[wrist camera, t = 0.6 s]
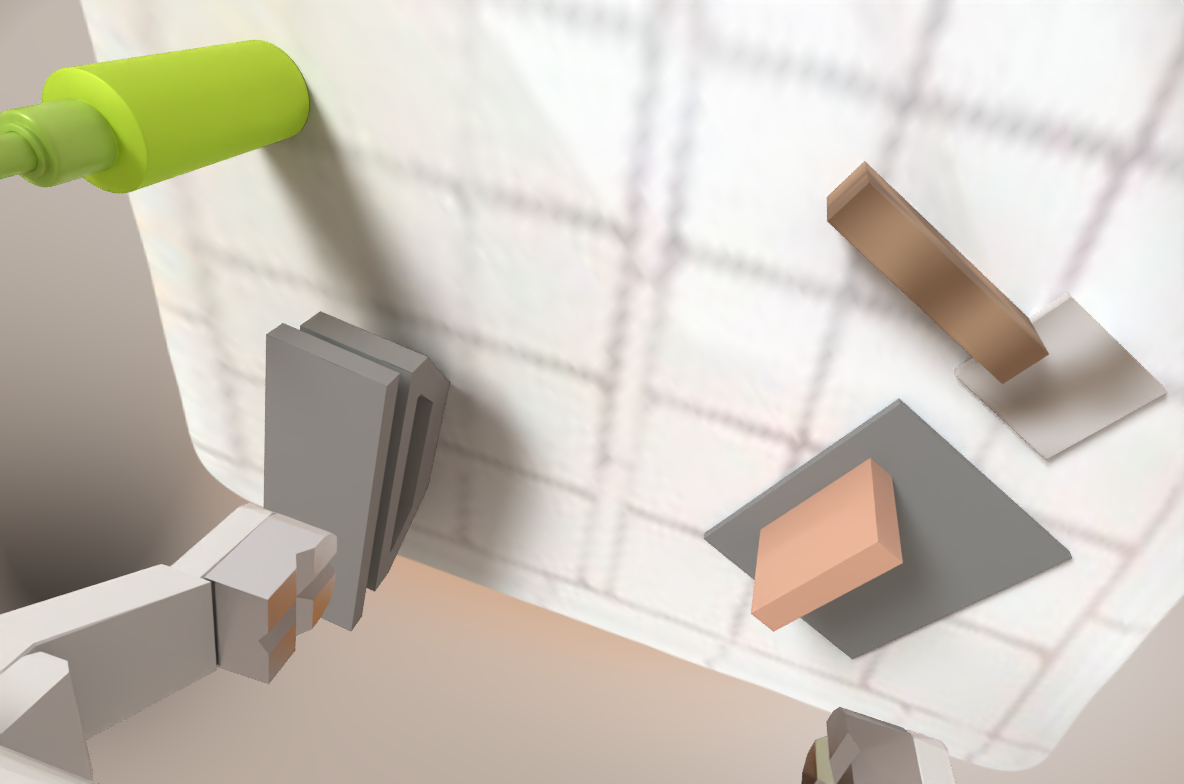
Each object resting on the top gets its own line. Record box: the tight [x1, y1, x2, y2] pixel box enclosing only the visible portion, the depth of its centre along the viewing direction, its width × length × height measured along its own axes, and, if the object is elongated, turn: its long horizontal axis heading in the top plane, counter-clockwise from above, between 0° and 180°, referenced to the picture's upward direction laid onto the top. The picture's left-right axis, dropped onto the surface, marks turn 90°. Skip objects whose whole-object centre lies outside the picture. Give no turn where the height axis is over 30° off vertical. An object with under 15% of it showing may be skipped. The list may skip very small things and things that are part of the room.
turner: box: [827, 161, 1167, 460], centre depth 38 cm, size 21×7×4 cm, turn 51°
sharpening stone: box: [264, 311, 450, 631], centre depth 52 cm, size 25×8×11 cm, turn 162°
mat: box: [704, 399, 1072, 659], centre depth 50 cm, size 18×16×1 cm
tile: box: [751, 458, 903, 632], centre depth 45 cm, size 10×2×8 cm, turn 142°
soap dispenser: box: [0, 40, 309, 193], centre depth 36 cm, size 6×7×20 cm
